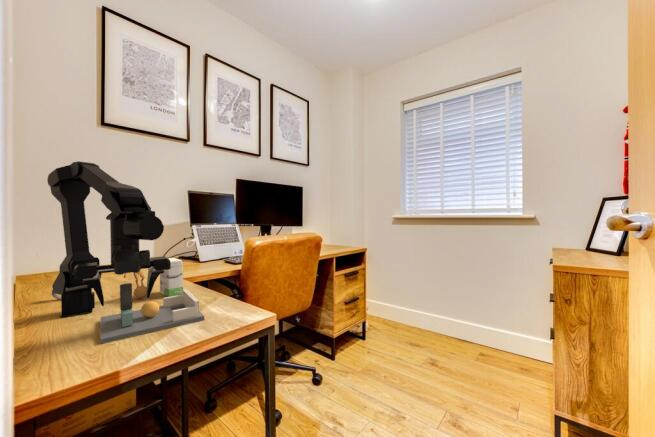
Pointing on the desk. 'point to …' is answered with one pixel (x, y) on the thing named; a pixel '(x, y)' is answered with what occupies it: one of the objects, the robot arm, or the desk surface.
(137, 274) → the figurine
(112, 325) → the board
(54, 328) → the desk surface
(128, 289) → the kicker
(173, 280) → the ink box
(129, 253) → the robot arm
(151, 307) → the ball
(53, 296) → the wristwatch
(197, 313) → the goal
